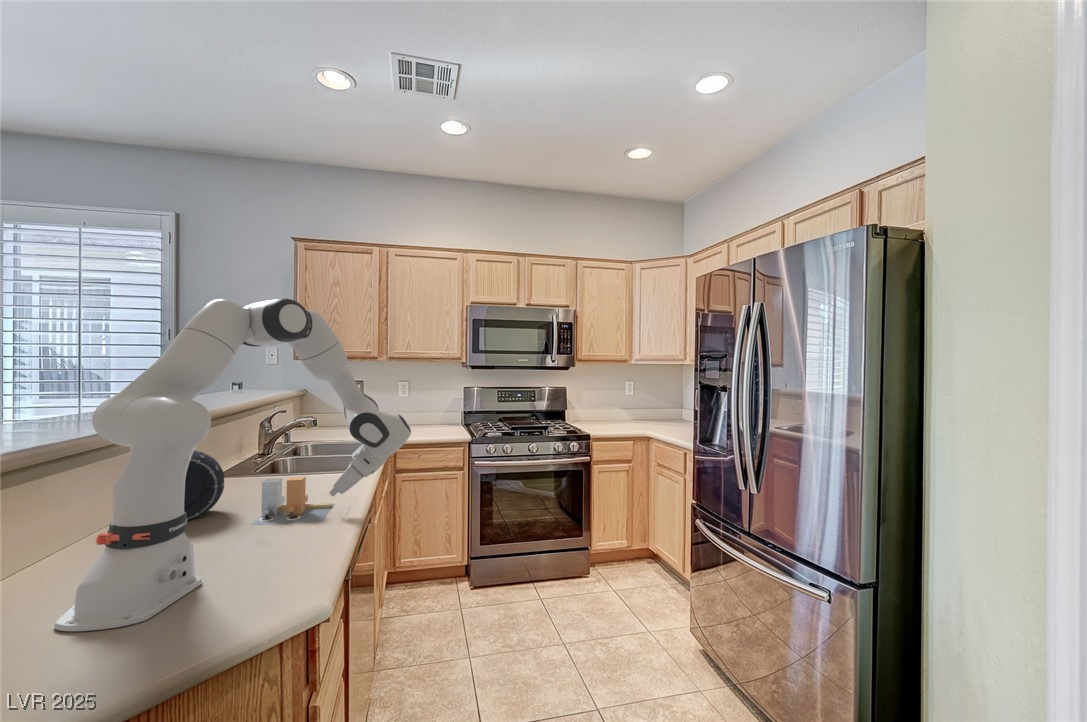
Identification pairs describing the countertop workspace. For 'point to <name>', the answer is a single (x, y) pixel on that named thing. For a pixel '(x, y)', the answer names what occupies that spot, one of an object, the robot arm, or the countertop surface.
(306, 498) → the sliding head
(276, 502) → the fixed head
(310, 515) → the board
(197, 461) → the dark rounded piece
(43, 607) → the countertop surface
